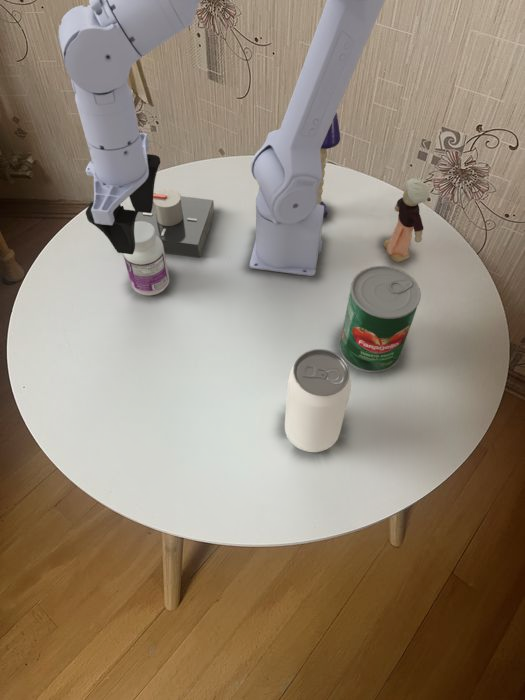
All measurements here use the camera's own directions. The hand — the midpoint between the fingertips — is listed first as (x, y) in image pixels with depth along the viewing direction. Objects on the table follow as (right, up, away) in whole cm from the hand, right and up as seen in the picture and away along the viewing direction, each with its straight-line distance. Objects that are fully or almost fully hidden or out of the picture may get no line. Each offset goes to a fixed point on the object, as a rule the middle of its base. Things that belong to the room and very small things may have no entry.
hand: (135, 230), depth 72 cm
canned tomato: (+30, -15, +1) cm, 34 cm away
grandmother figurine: (+36, -1, +12) cm, 38 cm away
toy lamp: (+25, +6, +17) cm, 30 cm away
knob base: (+2, +3, +14) cm, 15 cm away
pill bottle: (0, -6, +8) cm, 10 cm away
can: (+22, -24, -5) cm, 33 cm away
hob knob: (+2, +5, +12) cm, 13 cm away
